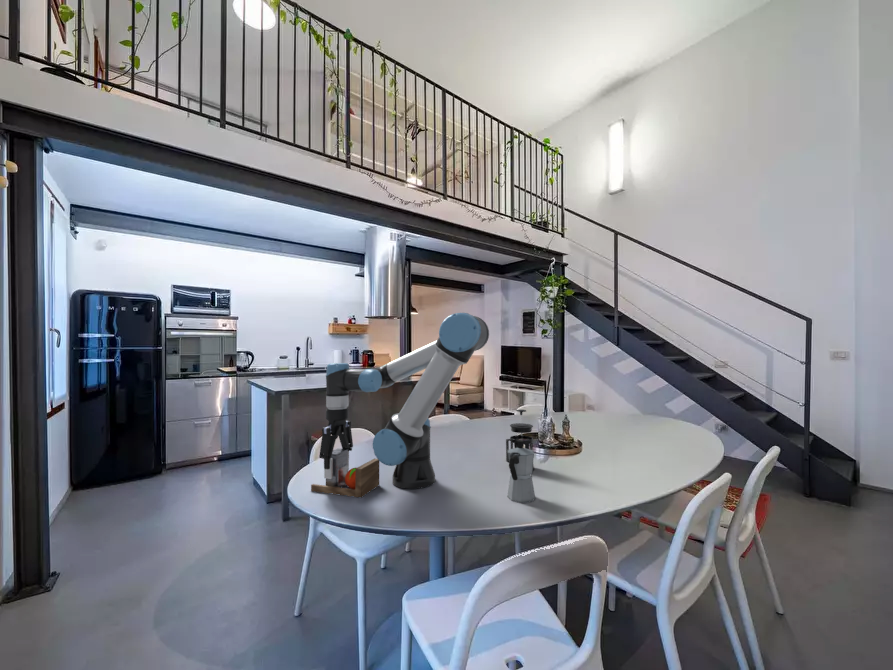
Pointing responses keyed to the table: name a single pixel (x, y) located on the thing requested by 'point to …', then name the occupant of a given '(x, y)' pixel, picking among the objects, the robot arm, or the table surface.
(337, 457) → the block
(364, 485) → the frame
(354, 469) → the clementine
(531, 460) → the coffee maker
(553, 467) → the table surface
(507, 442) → the french press
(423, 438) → the robot arm
